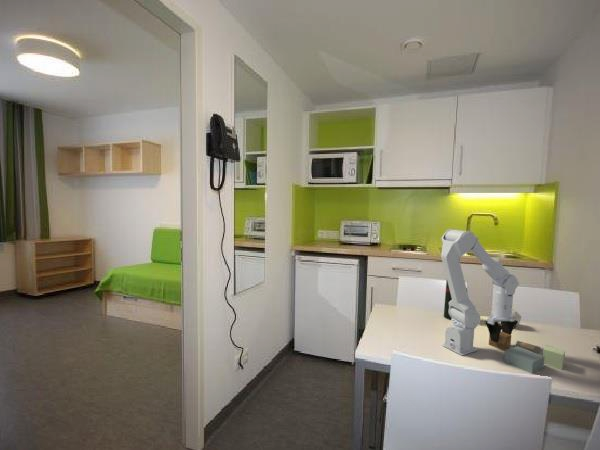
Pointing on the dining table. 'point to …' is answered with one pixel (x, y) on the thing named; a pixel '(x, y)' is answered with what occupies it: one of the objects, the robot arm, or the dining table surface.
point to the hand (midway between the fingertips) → (500, 339)
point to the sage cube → (554, 356)
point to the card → (528, 347)
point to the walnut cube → (501, 341)
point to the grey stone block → (516, 316)
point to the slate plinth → (524, 359)
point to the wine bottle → (447, 301)
